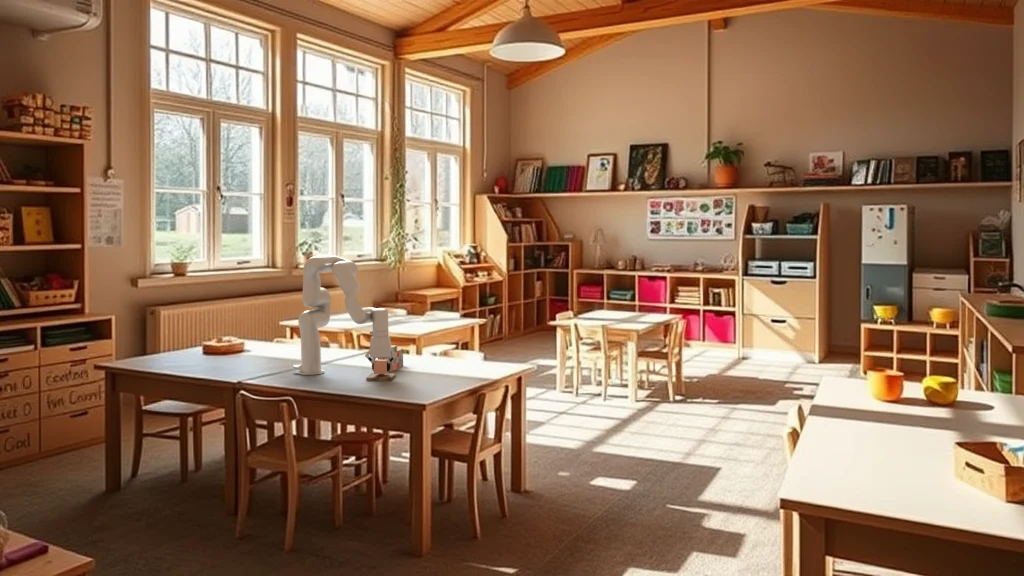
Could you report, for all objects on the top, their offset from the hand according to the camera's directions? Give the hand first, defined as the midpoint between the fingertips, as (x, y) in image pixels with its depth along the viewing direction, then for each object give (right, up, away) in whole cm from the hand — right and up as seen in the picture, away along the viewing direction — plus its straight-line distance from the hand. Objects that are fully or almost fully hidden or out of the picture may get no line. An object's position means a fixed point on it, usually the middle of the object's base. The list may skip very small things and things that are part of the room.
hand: (381, 370), depth 397 cm
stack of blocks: (+1, -2, +28) cm, 28 cm away
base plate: (0, -4, 0) cm, 4 cm away
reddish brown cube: (0, -1, 0) cm, 1 cm away
